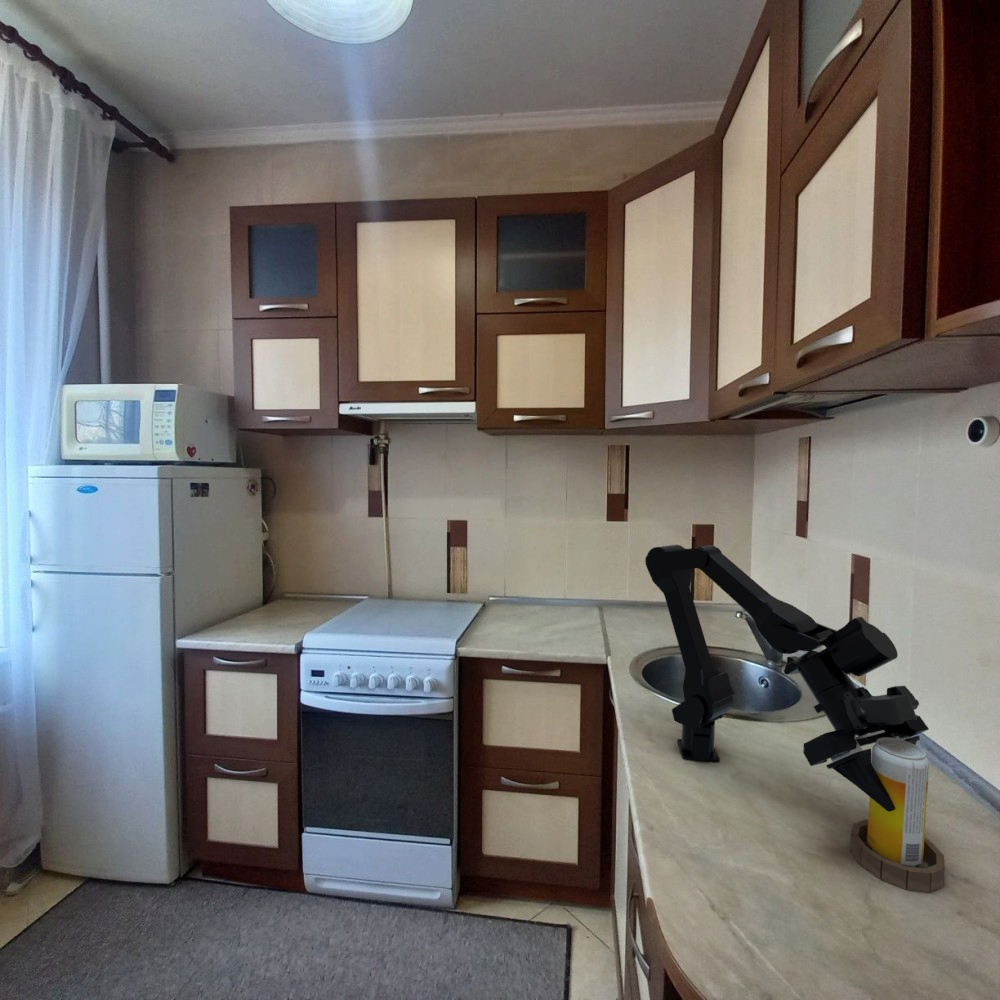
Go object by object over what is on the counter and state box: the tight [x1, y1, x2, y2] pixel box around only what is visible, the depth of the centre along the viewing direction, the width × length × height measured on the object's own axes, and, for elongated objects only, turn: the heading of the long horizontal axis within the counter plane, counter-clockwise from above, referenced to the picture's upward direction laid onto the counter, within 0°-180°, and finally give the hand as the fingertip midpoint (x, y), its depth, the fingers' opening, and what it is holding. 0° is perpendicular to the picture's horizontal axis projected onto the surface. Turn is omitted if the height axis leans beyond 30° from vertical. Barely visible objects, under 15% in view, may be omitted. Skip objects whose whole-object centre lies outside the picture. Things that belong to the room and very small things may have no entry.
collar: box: [849, 819, 946, 893], centre depth 72 cm, size 10×10×2 cm
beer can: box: [866, 737, 930, 868], centre depth 71 cm, size 6×6×15 cm
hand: (908, 805), depth 70 cm, fingers closed on beer can, 6 cm apart
